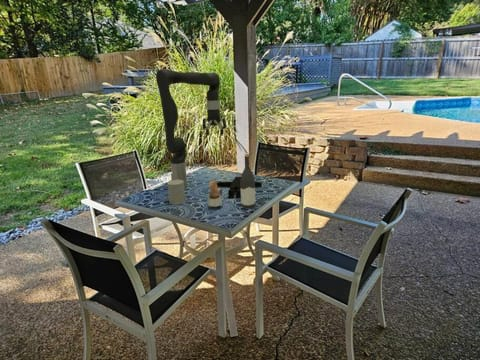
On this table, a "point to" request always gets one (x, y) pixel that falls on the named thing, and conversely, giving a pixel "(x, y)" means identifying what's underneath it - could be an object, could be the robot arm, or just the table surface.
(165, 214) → the table surface
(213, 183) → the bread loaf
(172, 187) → the speckled stone cylinder
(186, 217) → the table surface
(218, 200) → the mug
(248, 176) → the wine bottle
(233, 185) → the toy
